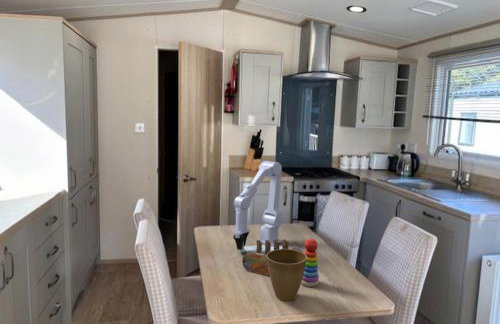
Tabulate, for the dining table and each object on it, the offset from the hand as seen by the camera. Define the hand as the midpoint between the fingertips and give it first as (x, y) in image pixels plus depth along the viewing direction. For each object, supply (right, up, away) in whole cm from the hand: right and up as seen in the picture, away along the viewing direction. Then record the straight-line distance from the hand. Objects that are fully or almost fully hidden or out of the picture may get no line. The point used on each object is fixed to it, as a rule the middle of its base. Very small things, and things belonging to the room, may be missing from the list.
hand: (241, 247), depth 185 cm
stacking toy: (+28, -7, -32) cm, 43 cm away
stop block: (+27, -3, 0) cm, 28 cm away
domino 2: (+9, -3, -4) cm, 10 cm away
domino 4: (+17, -3, -2) cm, 18 cm away
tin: (+8, -6, -23) cm, 25 cm away
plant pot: (+18, -9, -44) cm, 48 cm away
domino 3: (+13, -3, -3) cm, 14 cm away
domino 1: (0, -2, 0) cm, 2 cm away
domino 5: (+21, -3, -1) cm, 22 cm away
